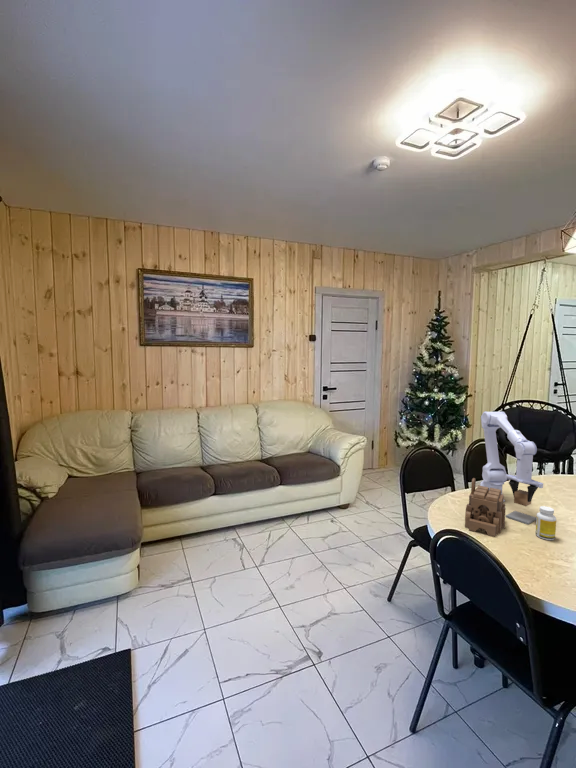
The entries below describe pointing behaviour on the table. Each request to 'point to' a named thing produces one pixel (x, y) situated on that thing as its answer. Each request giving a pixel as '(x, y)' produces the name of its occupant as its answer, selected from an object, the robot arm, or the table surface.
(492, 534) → the wooden puzzle
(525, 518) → the slate coaster
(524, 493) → the walnut cube
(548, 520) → the pill bottle
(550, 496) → the table surface
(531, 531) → the table surface
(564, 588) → the table surface
